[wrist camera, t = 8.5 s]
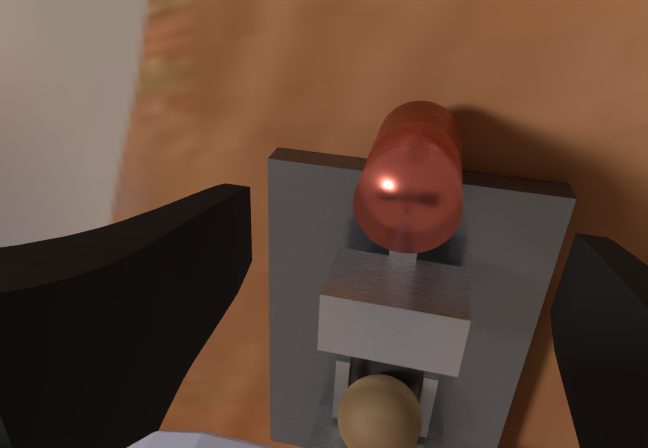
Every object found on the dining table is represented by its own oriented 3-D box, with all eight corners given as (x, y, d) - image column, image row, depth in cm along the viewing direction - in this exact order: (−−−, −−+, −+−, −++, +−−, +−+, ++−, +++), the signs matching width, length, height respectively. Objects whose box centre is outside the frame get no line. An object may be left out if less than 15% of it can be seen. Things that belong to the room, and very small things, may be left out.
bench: (483, 467, 27) (488, 584, 22) (277, 422, 28) (240, 519, 24) (570, 184, 19) (608, 269, 14) (277, 147, 21) (222, 211, 16)
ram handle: (457, 307, 20) (457, 405, 16) (338, 287, 21) (308, 374, 17) (501, 109, 16) (515, 168, 12) (352, 93, 17) (318, 144, 13)
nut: (418, 421, 24) (412, 491, 21) (343, 405, 25) (327, 471, 22) (429, 365, 23) (425, 432, 19) (348, 349, 23) (331, 412, 20)
